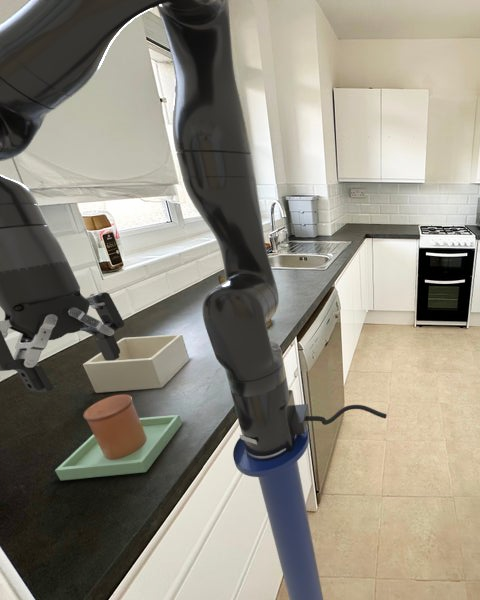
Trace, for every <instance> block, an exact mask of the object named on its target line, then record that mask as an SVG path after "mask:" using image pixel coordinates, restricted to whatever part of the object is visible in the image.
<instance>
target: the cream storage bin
mask: <svg viewBox="0 0 480 600" xmlns="http://www.w3.org/2000/svg"><path fill="white" fill-rule="evenodd" d="M116 342H117V345H118V347H119V349H120V354H119V358H118V359H116V360H112V361H106V360H105V359H104V357H103V355H102V353H101V352H99V353H98V354H96V355H95V356H93V357H92V358H90V359H88V360H87V361H86V362H84V363H82V366H83V368H84V371H85V373H86V375H87V377H88V379H89V382H90V383H91V386H92V388H93V390H94V392H95V393H96V394H99V393H111V392H113V393H114V392H125V391H138V390H151V389H152V390H153V389H162V388H163V387H164V386H166V384H167V383H168V382H169V381H170V380H171V379H172V378H173V377H174V376H175V375H176V374H177V373H178V372H179V371H180V370H181V369H182V368H183V367H184V366H185V365H186V364H187V363H188V362H189V361H190V356H189V353H188V349H187V346H186V343H185V339H184V335H183V334H182V333H180V334H164V335H163V334H162V335H147V336H132V337H131V336H130V337H122V338H121V339H119V340H118V341H116Z"/></svg>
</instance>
